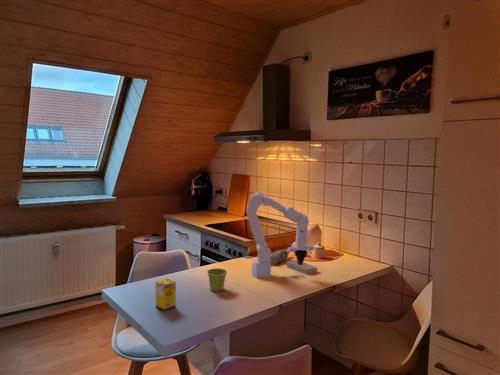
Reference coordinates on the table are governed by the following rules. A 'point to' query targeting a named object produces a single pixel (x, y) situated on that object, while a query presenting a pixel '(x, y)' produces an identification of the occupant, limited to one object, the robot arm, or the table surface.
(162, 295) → the supplement box
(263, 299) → the table surface
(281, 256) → the decorative bottle
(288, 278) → the laid board
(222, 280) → the plant pot
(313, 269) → the brick
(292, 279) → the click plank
